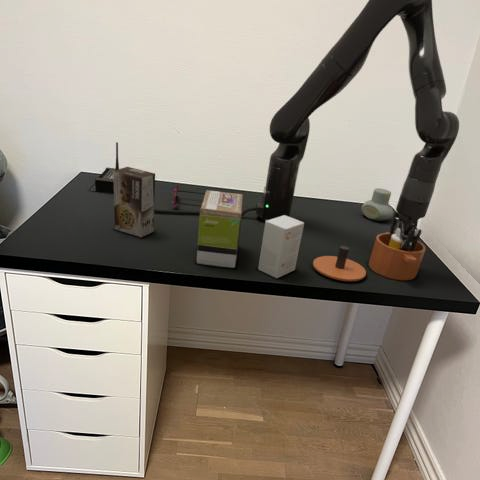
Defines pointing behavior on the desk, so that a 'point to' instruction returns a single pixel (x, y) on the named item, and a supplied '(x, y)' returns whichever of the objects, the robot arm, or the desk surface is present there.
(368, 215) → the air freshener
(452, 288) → the desk surface
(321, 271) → the orange pot lid
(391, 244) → the supplement bottle
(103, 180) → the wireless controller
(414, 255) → the orange pot
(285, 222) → the small box
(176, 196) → the glasses
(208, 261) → the tea box
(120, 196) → the coffee box
